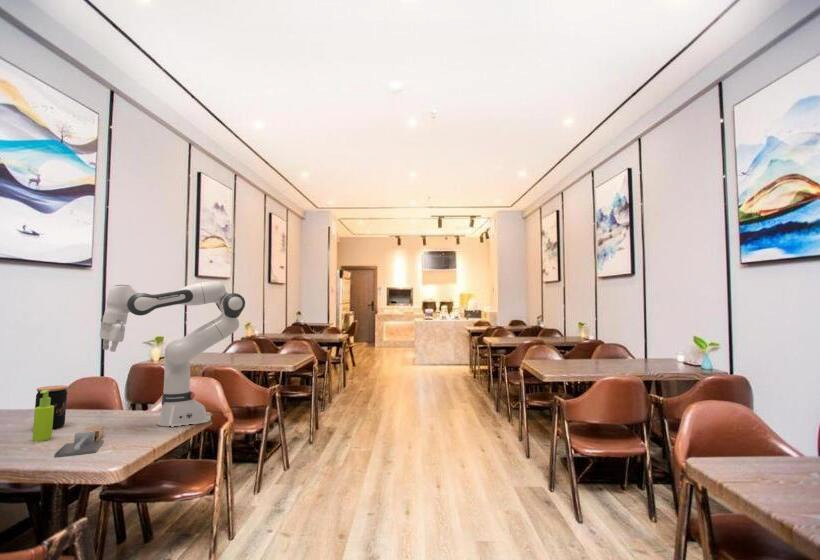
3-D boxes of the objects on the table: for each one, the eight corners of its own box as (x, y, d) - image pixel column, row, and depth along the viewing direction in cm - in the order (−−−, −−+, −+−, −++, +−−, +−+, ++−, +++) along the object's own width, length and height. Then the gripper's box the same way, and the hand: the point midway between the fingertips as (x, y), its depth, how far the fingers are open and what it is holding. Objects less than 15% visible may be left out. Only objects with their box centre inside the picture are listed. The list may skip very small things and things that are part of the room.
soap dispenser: (29, 443, 166) (33, 392, 167) (35, 438, 172) (39, 389, 173) (48, 441, 168) (52, 390, 170) (53, 436, 174) (57, 388, 176)
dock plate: (103, 442, 168) (104, 429, 168) (95, 452, 155) (96, 439, 156) (65, 446, 162) (66, 433, 163) (54, 457, 150) (55, 443, 150)
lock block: (103, 435, 178) (103, 425, 178) (98, 441, 170) (99, 430, 170) (86, 436, 175) (87, 427, 176) (81, 442, 167) (82, 432, 168)
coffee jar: (46, 432, 181) (49, 389, 183) (26, 430, 183) (30, 388, 185) (70, 425, 192) (73, 385, 193) (51, 424, 194) (55, 384, 195)
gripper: (131, 321, 185) (125, 353, 183) (115, 319, 198) (109, 348, 196) (114, 320, 180) (108, 352, 178) (99, 318, 193) (93, 348, 191)
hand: (108, 350), depth 187 cm, fingers open, 8 cm apart
